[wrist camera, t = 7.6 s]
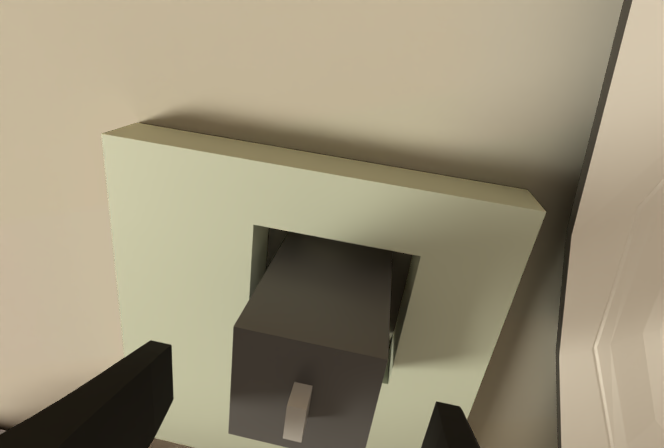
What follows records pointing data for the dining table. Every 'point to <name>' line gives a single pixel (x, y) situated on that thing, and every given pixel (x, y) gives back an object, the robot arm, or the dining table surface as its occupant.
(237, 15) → the dining table surface
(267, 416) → the charger
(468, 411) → the outlet board
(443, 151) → the dining table surface
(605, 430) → the plate
